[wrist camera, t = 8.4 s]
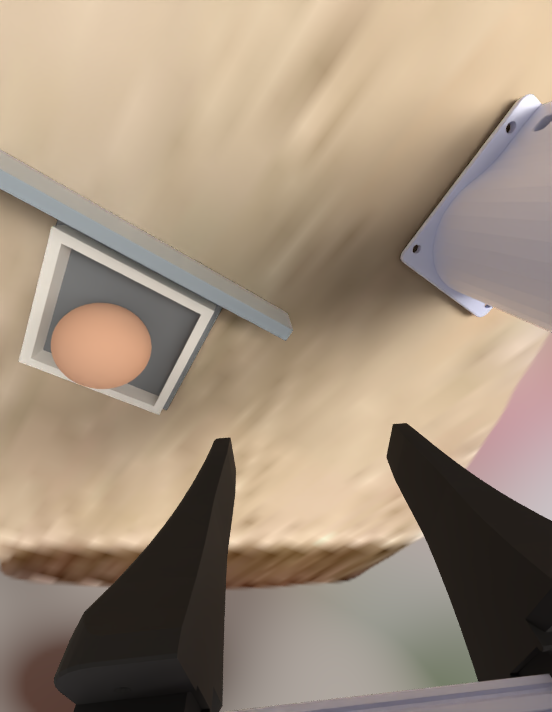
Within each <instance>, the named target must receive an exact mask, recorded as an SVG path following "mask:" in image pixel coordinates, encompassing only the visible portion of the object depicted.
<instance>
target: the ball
mask: <svg viewBox="0 0 552 712" xmlns="http://www.w3.org/2000/svg"><path fill="white" fill-rule="evenodd" d="M151 349H152V345H151V338H150V334H149V332H148V330H147V328H146V326H145V325H144V323H143V322H142V321H141V320H140V318H139V317H137V316H136V315H135V314H134V313H132V312H131V311H129V310H127V309H126V308H123V307H121V306H118V305H114V304H110V303H91V304H86V305H83V306H80V307H77V308H75V309H73V310H71V311H70V312H69V313H67V314H66V315H65V316H64V317H63V318H62V319H61V320H60V321H59V322H58V324H57V325H56V327H55V329H54V331H53V334H52V338H51V352H52V356H53V359H54V362H55V364H56V365H57V367H58V368H59V370H60V371H61V372H62V373H63V374H64V375H65V376H66V377H67V378H69V379H70V380H72V381H73V382H75V383H77V384H79V385H82V386H85V387H89V388H94V389H110V388H115V387H119V386H122V385H124V384H127V383H129V382H130V381H132V380H134V379H135V378H136V377H137V376H138V375H140V373H141V372H142V371H143V370H144V369H145V367H146V365H147V364H148V361H149V359H150V355H151Z"/></svg>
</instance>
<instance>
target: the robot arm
mask: <svg viewBox="0 0 552 712" xmlns="http://www.w3.org/2000/svg"><path fill="white" fill-rule="evenodd" d="M508 123H509V124H510V130H509V132H508V133H507V132H506V127H507V125H508ZM415 245H417V246H418V249H417V251H415V252H413V247H414V246H415ZM401 261H402V262H403V263H404V264H406V265H407V266H408V267H410V268H411V269H412V270H414V271H415V272H416V273H418V274H419V275H420V276H422V277H423V278H425V279H426V280H427V281H429V282H430V283H431V284H433V285H434V286H435V287H437V288H438V289H439V290H441V291H442V292H443V293H445V294H446V295H448V296H449V297H450V298H452V299H453V300H454V301H456V302H457V303H458V304H460V305H461V306H462V307H464V308H465V309H466V310H468V311H469V312H471V313H472V314H473V315H475V316H477V317H483V316H485V315H486V314H487V313H488V312H489V311H490V310H491V309H492V308H493V307H494V308H496V309H499V310H501V311H503V312H505V313H508V314H510V315H512V316H515V317H517V318H519V319H522V320H524V321H526V322H528V323H531V324H533V325H535V326H538V327H540V328H542V329H545V330H547V331H549V332H551V333H552V101H551V102H548V103H545V104H541V103H540V101H539V100H538V99H537V98H536V97H535V96H534V95H533V94H528V95H525V96H523V97H521V98H519V99H518V100H517V101H516V102H515V104H514V105H513V106H512V108H511V109H510V110H509V112H508V113H507V114H506V116H505V117H504V118H503V120H502V121H501V122H500V123H499V125H498V126H497V127H496V129H495V130H494V131H493V133H492V134H491V135H490V137H489V138H488V139H487V141H486V142H485V143H484V145H483V146H482V147H481V149H480V150H479V151H478V153H477V154H476V155H475V156H474V158H473V159H472V160H471V162H470V163H469V164H468V166H467V167H466V168H465V170H464V171H463V172H462V174H461V175H460V176H459V178H458V179H457V180H456V182H455V183H454V184H453V186H452V187H451V188H450V189H449V191H448V192H447V193H446V195H445V196H444V197H443V199H442V200H441V201H440V203H439V204H438V205H437V207H436V208H435V209H434V211H433V212H432V213H431V215H430V216H429V217H428V219H427V220H426V221H425V222H424V224H423V225H422V226H421V228H420V229H419V230H418V232H417V233H416V234H415V236H414V237H413V238H412V240H411V241H410V242H409V244H408V245H407V246H406V248H405V249H404V250H403V252H402V253H401ZM485 304H487V305H486V306H485ZM387 460H388V463H389V465H390V468H391V471H392V473H393V476H394V478H395V481H396V483H397V485H398V486H399V488H400V490H401V492H402V494H403V496H404V498H405V500H406V502H407V504H408V506H409V508H410V509H411V511H412V513H413V515H414V517H415V519H416V521H417V523H418V525H419V526H420V528H421V530H422V532H423V534H424V537H425V539H426V541H427V543H428V545H429V548H430V550H431V553H432V555H433V557H434V560H435V562H436V564H437V567H438V569H439V572H440V574H441V577H442V580H443V582H444V585H445V587H446V590H447V592H448V595H449V598H450V600H451V603H452V606H453V609H454V611H455V614H456V617H457V620H458V622H459V625H460V628H461V631H462V633H463V637H464V639H465V642H466V645H467V648H468V651H469V654H470V657H471V660H472V663H473V666H474V669H475V673H476V675H477V679H478V682H474V683H465V684H456V685H448V686H439V687H430V688H422V689H414V690H405V691H397V692H388V693H379V694H371V695H362V696H354V697H345V698H336V699H328V700H319V701H311V702H302V703H295V704H285V705H277V706H268V707H259V708H252V709H243V710H234V711H226V712H552V521H551V520H549V519H547V518H545V517H543V516H541V515H539V514H537V513H535V512H534V511H532V510H530V509H528V508H527V507H525V506H523V505H521V504H519V503H518V502H516V501H514V500H513V499H511V498H509V497H507V496H506V495H504V494H502V493H501V492H499V491H498V490H496V489H494V488H493V487H491V486H490V485H488V484H487V483H485V482H483V481H482V480H480V479H479V478H477V477H476V476H475V475H473V474H472V473H470V472H469V471H467V470H466V469H465V468H463V467H462V466H460V465H459V464H458V463H456V462H455V461H454V460H452V459H451V458H450V457H448V456H447V455H446V454H445V453H443V452H442V451H441V450H439V449H438V448H437V447H436V446H434V445H433V444H432V443H431V442H429V441H428V440H427V439H426V438H424V437H423V436H422V435H421V434H419V433H418V432H417V431H416V430H415V429H413V428H412V427H411V426H409V425H408V424H407V423H403V424H393V427H392V432H391V437H390V442H389V447H388V452H387ZM235 484H236V468H235V462H234V456H233V450H232V444H231V438H219V439H216V440H215V441H214V443H213V445H212V447H211V450H210V452H209V454H208V456H207V458H206V460H205V462H204V464H203V466H202V468H201V469H200V471H199V473H198V475H197V477H196V478H195V480H194V482H193V484H192V485H191V487H190V488H189V490H188V492H187V493H186V495H185V496H184V498H183V500H182V501H181V503H180V504H179V506H178V507H177V508H176V510H175V511H174V513H173V514H172V516H171V517H170V518H169V520H168V521H167V522H166V524H165V525H164V526H163V528H162V529H161V530H160V531H159V533H158V534H157V535H156V536H155V538H154V539H153V540H152V541H151V543H150V544H149V545H148V546H147V547H146V549H145V550H144V551H143V552H142V553H141V554H140V555H139V556H138V558H137V559H136V560H135V561H134V562H133V563H132V564H131V565H130V566H129V568H128V569H127V570H126V571H125V572H124V573H123V574H122V575H121V576H120V577H119V578H118V579H117V580H116V581H115V583H113V584H112V585H111V586H110V587H109V588H108V590H106V591H105V592H104V593H103V594H102V595H101V596H100V597H99V598H98V599H97V600H96V601H95V602H94V603H93V604H92V605H91V606H90V607H89V608H88V609H87V610H86V611H85V612H84V614H83V616H82V618H81V619H80V621H79V624H78V625H77V627H76V629H75V631H74V633H73V635H72V637H71V639H70V641H69V644H68V646H67V648H66V651H65V653H64V656H63V658H62V660H61V663H60V665H59V667H58V670H57V672H56V674H55V677H54V684H55V687H56V688H57V689H58V690H59V691H60V692H61V693H62V694H63V695H65V696H66V697H68V698H69V699H70V700H71V701H73V702H74V703H75V704H76V706H75V709H74V712H219V711H220V709H221V707H222V694H223V693H222V691H223V648H224V647H223V646H224V616H225V590H226V569H227V554H228V545H229V537H230V530H231V522H232V515H233V507H234V499H235Z"/></svg>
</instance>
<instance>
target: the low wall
mask: <svg viewBox="0 0 552 712" xmlns="http://www.w3.org/2000/svg"><path fill="white" fill-rule="evenodd" d="M0 189H1V190H3V191H5V192H7V193H9V194H11V195H13V196H15V197H16V198H18V199H20V200H22V201H24V202H26V203H28V204H30V205H32V206H33V207H35V208H37V209H39V210H41V211H43V212H45V213H47V214H48V215H50V216H52V217H54V218H56V219H58V220H60V221H62V222H63V223H65V224H67V225H69V226H71V227H73V228H75V229H77V230H78V231H80V232H82V233H84V234H86V235H88V236H90V237H92V238H93V239H95V240H97V241H99V242H101V243H103V244H105V245H107V246H109V247H110V248H112V249H114V250H116V251H118V252H120V253H122V254H124V255H125V256H127V257H129V258H131V259H133V260H135V261H137V262H139V263H140V264H142V265H144V266H146V267H148V268H150V269H152V270H154V271H155V272H157V273H159V274H161V275H163V276H165V277H167V278H169V279H170V280H172V281H174V282H176V283H178V284H180V285H182V286H184V287H185V288H187V289H189V290H191V291H193V292H195V293H197V294H199V295H201V296H202V297H204V298H206V299H208V300H210V301H212V302H214V303H216V304H217V305H219V306H221V307H223V308H225V309H227V310H229V311H231V312H232V313H234V314H236V315H238V316H240V317H242V318H244V319H246V320H247V321H249V322H251V323H253V324H255V325H257V326H259V327H261V328H262V329H264V330H266V331H268V332H270V333H272V334H274V335H276V336H278V337H279V338H281V339H283V340H285V341H286V340H287V339H288V337H289V336H290V334H291V333H292V331H293V328H292V325H291V322H290V319H289V316H288V313H287V312H285V311H283V310H282V309H280V308H278V307H276V306H274V305H273V304H271V303H269V302H267V301H266V300H264V299H262V298H260V297H259V296H257V295H255V294H253V293H252V292H250V291H248V290H246V289H245V288H243V287H241V286H239V285H238V284H236V283H234V282H232V281H231V280H229V279H227V278H225V277H223V276H222V275H220V274H218V273H216V272H215V271H213V270H211V269H209V268H208V267H206V266H204V265H202V264H201V263H199V262H197V261H195V260H194V259H192V258H190V257H188V256H187V255H185V254H183V253H181V252H180V251H178V250H176V249H174V248H172V247H171V246H169V245H167V244H165V243H164V242H162V241H160V240H158V239H157V238H155V237H153V236H151V235H150V234H148V233H146V232H144V231H143V230H141V229H139V228H137V227H136V226H134V225H132V224H130V223H129V222H127V221H125V220H123V219H122V218H120V217H118V216H116V215H114V214H113V213H111V212H109V211H107V210H106V209H104V208H102V207H100V206H99V205H97V204H95V203H93V202H92V201H90V200H88V199H86V198H85V197H83V196H81V195H79V194H78V193H76V192H74V191H72V190H71V189H69V188H67V187H65V186H63V185H62V184H60V183H58V182H56V181H55V180H53V179H51V178H49V177H48V176H46V175H44V174H42V173H41V172H39V171H37V170H35V169H34V168H32V167H30V166H28V165H27V164H25V163H23V162H21V161H20V160H18V159H16V158H14V157H12V156H11V155H9V154H7V153H5V152H4V151H2V150H0Z"/></svg>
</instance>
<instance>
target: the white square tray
mask: <svg viewBox="0 0 552 712" xmlns="http://www.w3.org/2000/svg"><path fill="white" fill-rule="evenodd" d="M91 303H110V304H114V305H118V306H121V307H123V308H126V309H127V310H129V311H131V312H132V313H134V314H135V315H136V316H137V317H139V318H140V320H141V321H142V322H143V323H144V325H145V326H146V328H147V330H148V332H149V334H150V338H151V345H152V349H151V355H150V359H149V361H148V364H147V365H146V367H145V369H144V370H143V371H142V372H141V373H140V375H138V376H137V377H136V378H135V379H134V380H132V381H130V382H129V383H127V384H124V385H122V386H119V387H115V388H110V389H94V388H89V387H87V388H89V389H92V390H94V391H97V392H100V393H102V394H105V395H108V396H110V397H113V398H116V399H118V400H121V401H123V402H126V403H129V404H131V405H134V406H137V407H139V408H142V409H144V410H147V411H150V412H152V413H155V414H158V415H159V414H160V413H161V411H162V409H164V410H167V409H168V407H169V405H170V403H171V402H172V400H173V398H174V396H175V394H176V392H177V391H178V389H179V387H180V385H181V383H182V381H183V379H184V378H185V376H186V374H187V372H188V370H189V368H190V367H191V365H192V363H193V361H194V359H195V357H196V356H197V354H198V352H199V350H200V348H201V346H202V344H203V343H204V341H205V339H206V337H207V335H208V333H209V332H210V330H211V328H212V326H213V324H214V322H215V321H216V319H217V317H218V315H219V313H220V311H221V310H222V308H223V307H221V306H219V305H217V304H216V303H214V302H212V301H210V300H208V299H206V298H204V297H202V296H201V295H199V294H197V293H195V292H193V291H191V290H189V289H187V288H185V287H184V286H182V285H180V284H178V283H176V282H174V281H172V280H170V279H169V278H167V277H165V276H163V275H161V274H159V273H157V272H155V271H154V270H152V269H150V268H148V267H146V266H144V265H142V264H140V263H139V262H137V261H135V260H133V259H131V258H129V257H127V256H125V255H124V254H122V253H120V252H118V251H116V250H114V249H112V248H110V247H109V246H107V245H105V244H103V243H101V242H99V241H97V240H95V239H93V238H92V237H90V236H88V235H86V234H84V233H82V232H80V231H78V230H77V229H75V228H73V227H71V226H69V225H67V224H65V223H63V222H62V221H60V220H57V224H56V226H52V227H51V231H50V235H49V239H48V243H47V247H46V251H45V255H44V260H43V264H42V268H41V272H40V276H39V280H38V284H37V288H36V292H35V296H34V300H33V304H32V308H31V313H30V317H29V321H28V325H27V329H26V333H25V337H24V341H23V345H22V349H21V353H20V357H19V361H18V362H21V363H23V364H26V365H29V366H31V367H34V368H37V369H39V370H42V371H44V372H47V373H50V374H52V375H55V376H58V377H60V378H63V379H65V380H68V381H71V382H73V381H72V380H70V379H69V378H67V377H66V376H65V375H64V374H63V373H62V372H61V371H60V370H59V368H58V367H57V365H56V364H55V362H54V359H53V356H52V352H51V338H52V334H53V331H54V329H55V327H56V325H57V324H58V322H59V321H60V320H61V319H62V318H63V317H64V316H65V315H66V314H67V313H69V312H70V311H71V310H73V309H75V308H77V307H80V306H83V305H86V304H91ZM73 383H75V382H73ZM76 384H77V383H76ZM81 386H82V385H81ZM84 387H85V386H84Z"/></svg>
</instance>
